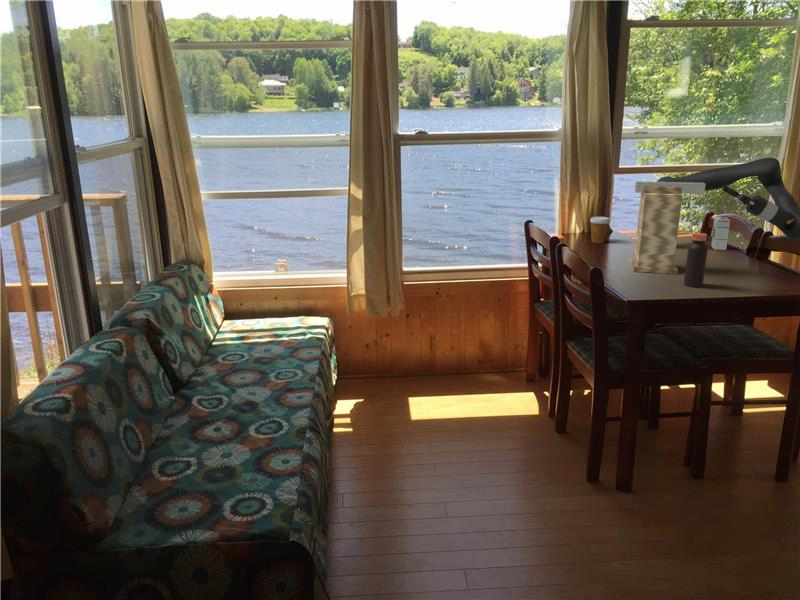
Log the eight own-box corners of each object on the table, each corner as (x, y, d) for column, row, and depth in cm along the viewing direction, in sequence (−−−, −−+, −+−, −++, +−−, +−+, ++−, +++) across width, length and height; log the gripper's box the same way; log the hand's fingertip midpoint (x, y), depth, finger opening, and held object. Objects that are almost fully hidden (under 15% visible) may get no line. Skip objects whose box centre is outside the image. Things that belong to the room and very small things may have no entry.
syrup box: (726, 250, 309) (731, 219, 305) (713, 249, 310) (717, 219, 306) (723, 247, 315) (727, 217, 310) (710, 246, 316) (714, 216, 311)
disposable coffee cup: (610, 244, 323) (612, 219, 319) (590, 244, 323) (593, 219, 319) (605, 239, 332) (607, 216, 328) (586, 239, 332) (587, 216, 329)
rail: (701, 192, 268) (703, 182, 266) (704, 194, 264) (705, 184, 263) (634, 191, 273) (635, 181, 271) (636, 192, 269) (637, 182, 268)
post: (670, 264, 284) (680, 184, 273) (677, 274, 270) (688, 189, 259) (629, 263, 287) (637, 183, 277) (633, 272, 273) (642, 188, 263)
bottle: (687, 287, 251) (694, 236, 245) (680, 282, 258) (687, 232, 252) (705, 287, 251) (712, 235, 245) (698, 282, 258) (705, 232, 252)
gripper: (762, 197, 272) (727, 179, 273) (773, 202, 259) (736, 183, 260) (751, 213, 275) (716, 195, 276) (761, 219, 262) (724, 200, 262)
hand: (726, 189), depth 268 cm, fingers open, 8 cm apart
